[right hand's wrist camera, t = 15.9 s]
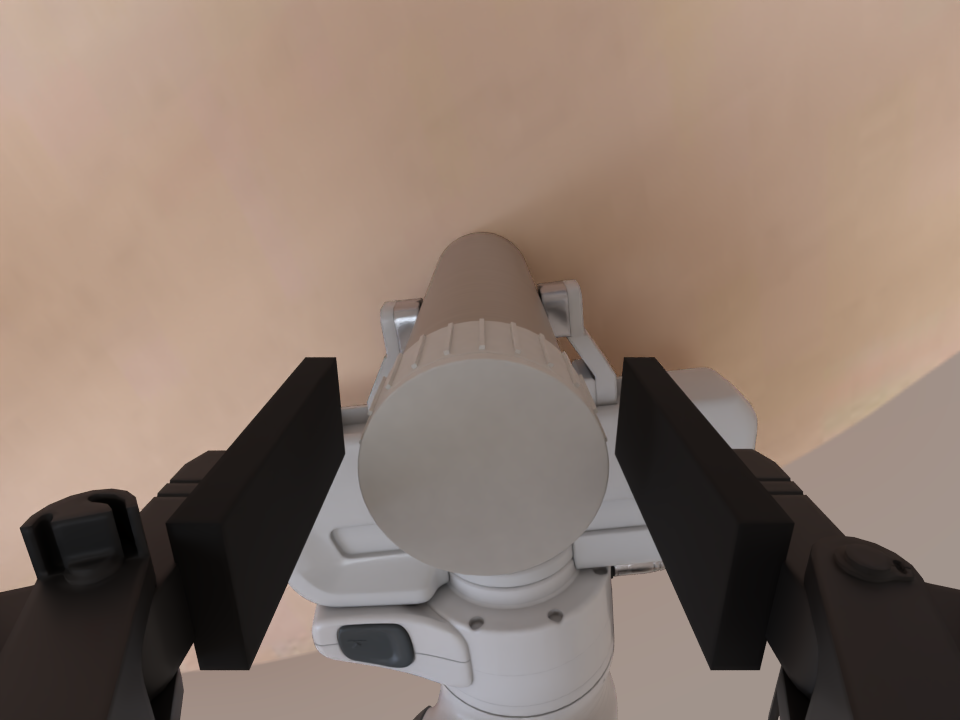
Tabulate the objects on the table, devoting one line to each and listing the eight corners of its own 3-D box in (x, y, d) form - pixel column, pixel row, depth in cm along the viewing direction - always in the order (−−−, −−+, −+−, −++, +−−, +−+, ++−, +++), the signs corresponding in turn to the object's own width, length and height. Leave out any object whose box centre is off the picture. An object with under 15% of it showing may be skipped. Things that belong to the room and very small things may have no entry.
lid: (498, 543, 14) (501, 617, 12) (333, 435, 13) (303, 494, 11) (635, 404, 13) (668, 458, 11) (463, 270, 12) (459, 299, 10)
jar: (489, 342, 28) (499, 589, 12) (415, 287, 27) (326, 480, 11) (548, 272, 27) (643, 448, 11) (473, 212, 26) (463, 311, 10)
